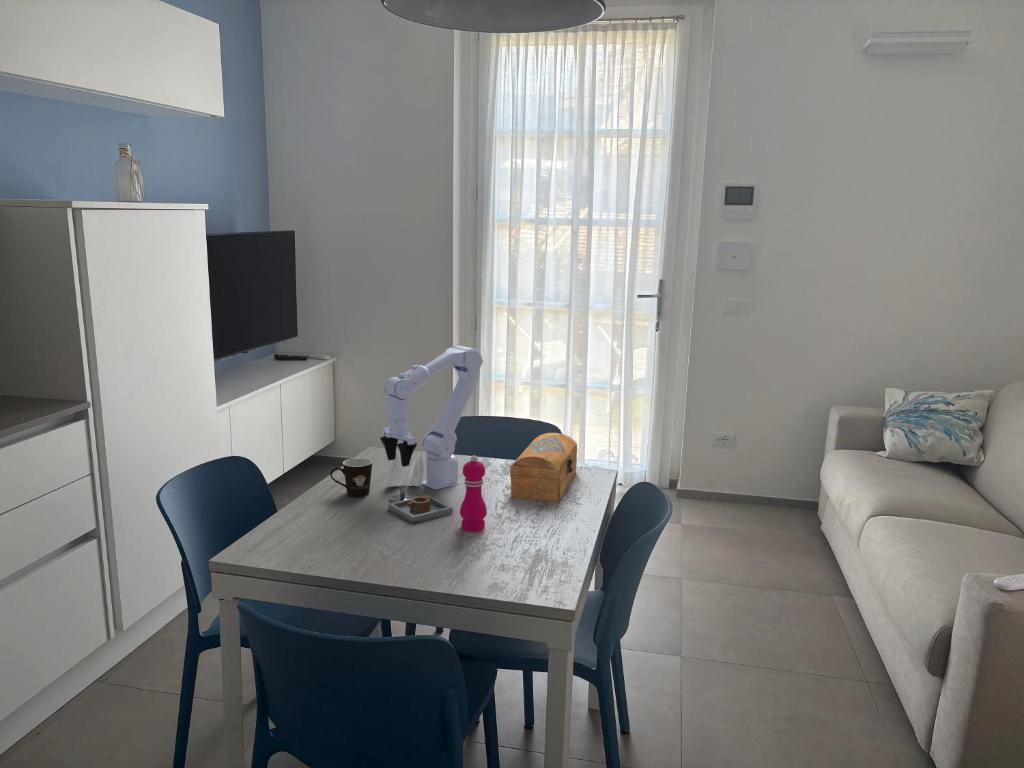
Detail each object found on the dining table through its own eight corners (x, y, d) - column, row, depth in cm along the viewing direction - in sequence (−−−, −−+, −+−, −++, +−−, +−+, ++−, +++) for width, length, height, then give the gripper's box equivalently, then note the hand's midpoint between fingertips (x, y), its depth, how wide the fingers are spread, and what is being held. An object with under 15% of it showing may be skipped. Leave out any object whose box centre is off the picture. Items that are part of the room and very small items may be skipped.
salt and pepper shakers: (388, 491, 238) (387, 456, 236) (384, 487, 242) (383, 452, 240) (425, 486, 243) (425, 451, 241) (421, 482, 247) (421, 448, 245)
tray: (426, 500, 231) (426, 494, 231) (452, 513, 221) (452, 507, 221) (388, 509, 223) (388, 503, 222) (413, 523, 213) (413, 517, 213)
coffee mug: (376, 490, 239) (375, 458, 237) (368, 500, 230) (367, 467, 228) (338, 488, 240) (338, 456, 238) (329, 497, 231) (328, 465, 229)
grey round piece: (406, 493, 236) (406, 479, 236) (421, 501, 230) (421, 486, 230) (383, 499, 231) (383, 484, 231) (398, 506, 225) (397, 491, 224)
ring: (403, 509, 222) (403, 499, 221) (426, 504, 226) (426, 494, 226) (414, 515, 217) (414, 505, 217) (436, 509, 222) (437, 499, 222)
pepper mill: (490, 524, 214) (491, 453, 210) (480, 534, 207) (481, 460, 203) (465, 520, 216) (466, 450, 212) (455, 530, 209) (456, 457, 206)
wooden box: (562, 505, 231) (564, 459, 228) (508, 498, 235) (509, 454, 232) (581, 474, 259) (582, 434, 256) (532, 469, 263) (533, 429, 260)
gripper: (373, 415, 234) (373, 459, 236) (400, 425, 223) (400, 471, 226) (393, 412, 238) (394, 455, 241) (420, 421, 227) (421, 466, 230)
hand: (398, 462), depth 234 cm, fingers open, 7 cm apart
